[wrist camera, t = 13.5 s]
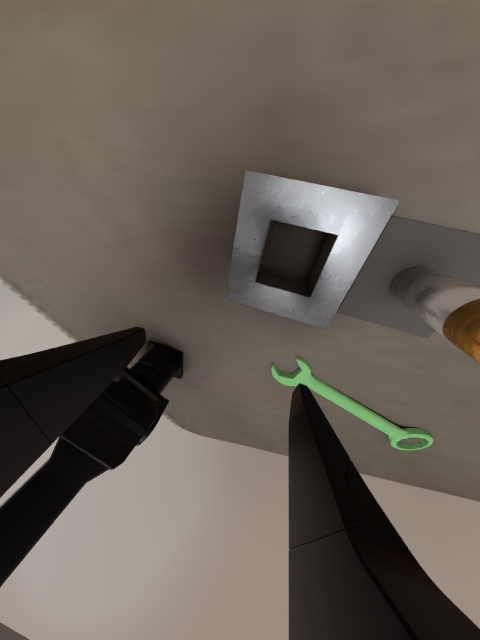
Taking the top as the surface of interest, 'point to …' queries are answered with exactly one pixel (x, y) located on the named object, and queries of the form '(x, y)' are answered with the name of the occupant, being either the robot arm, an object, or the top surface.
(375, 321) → the rubber mat
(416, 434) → the wrench
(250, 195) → the block
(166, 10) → the top surface
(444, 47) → the top surface
